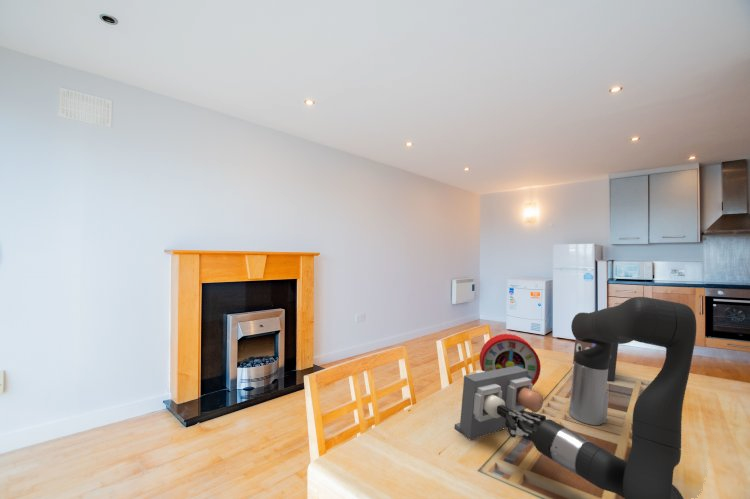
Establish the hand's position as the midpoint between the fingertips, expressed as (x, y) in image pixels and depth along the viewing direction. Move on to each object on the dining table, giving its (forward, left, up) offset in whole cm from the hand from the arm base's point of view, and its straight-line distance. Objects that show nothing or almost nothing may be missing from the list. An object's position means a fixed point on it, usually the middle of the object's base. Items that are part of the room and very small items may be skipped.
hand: (498, 408), depth 90 cm
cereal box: (-63, -60, -10) cm, 88 cm away
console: (-2, -9, -10) cm, 14 cm away
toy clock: (-16, -35, -10) cm, 40 cm away
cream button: (+1, -2, -2) cm, 3 cm away
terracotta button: (-11, -7, -2) cm, 13 cm away
